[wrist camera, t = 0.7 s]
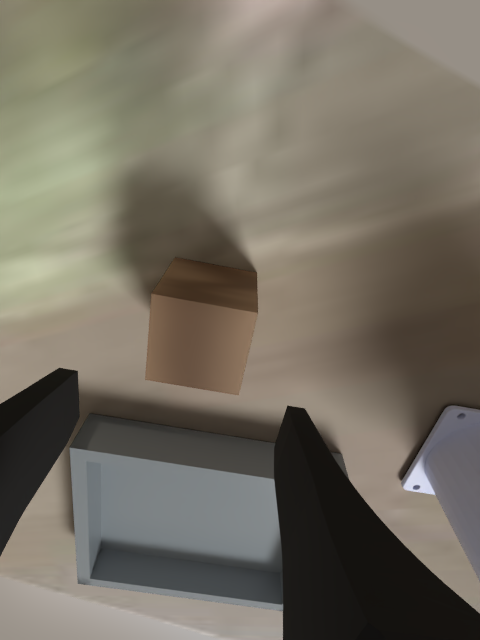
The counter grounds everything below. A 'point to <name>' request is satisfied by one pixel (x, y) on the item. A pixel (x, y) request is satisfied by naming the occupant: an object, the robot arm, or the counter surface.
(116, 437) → the bin
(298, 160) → the counter surface
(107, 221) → the counter surface
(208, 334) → the block
